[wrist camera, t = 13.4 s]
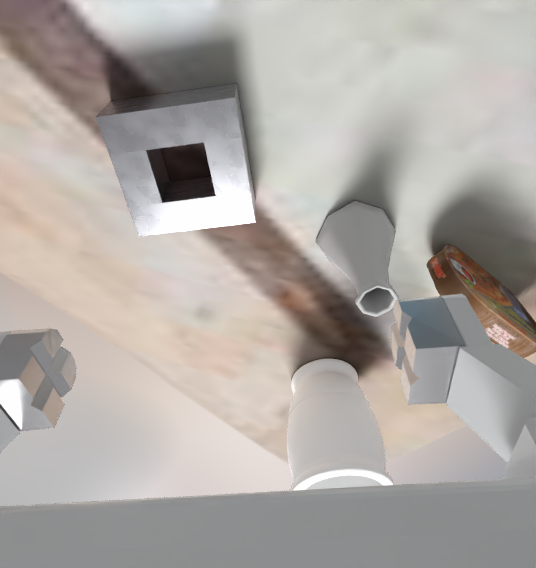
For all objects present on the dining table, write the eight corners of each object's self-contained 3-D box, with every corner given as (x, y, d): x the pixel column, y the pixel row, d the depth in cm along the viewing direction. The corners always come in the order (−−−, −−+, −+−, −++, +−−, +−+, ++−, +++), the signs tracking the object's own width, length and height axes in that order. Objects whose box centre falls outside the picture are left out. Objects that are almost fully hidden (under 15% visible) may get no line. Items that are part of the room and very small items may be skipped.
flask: (302, 241, 42) (312, 309, 35) (353, 186, 39) (378, 247, 31) (355, 276, 45) (376, 346, 37) (408, 227, 42) (443, 293, 34)
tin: (523, 301, 48) (566, 358, 41) (498, 318, 49) (536, 376, 43) (436, 229, 42) (469, 283, 35) (410, 251, 44) (438, 306, 37)
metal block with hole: (236, 83, 33) (234, 97, 30) (255, 200, 40) (255, 222, 36) (110, 101, 34) (95, 117, 31) (148, 213, 40) (139, 236, 37)
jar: (327, 414, 60) (344, 530, 48) (266, 386, 56) (269, 505, 44) (382, 372, 55) (417, 490, 43) (320, 338, 51) (339, 458, 39)
